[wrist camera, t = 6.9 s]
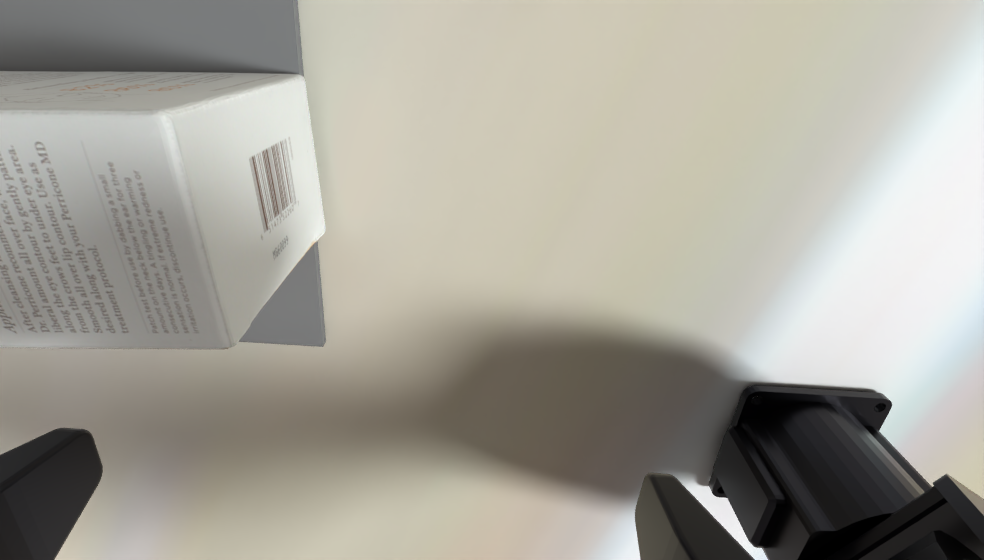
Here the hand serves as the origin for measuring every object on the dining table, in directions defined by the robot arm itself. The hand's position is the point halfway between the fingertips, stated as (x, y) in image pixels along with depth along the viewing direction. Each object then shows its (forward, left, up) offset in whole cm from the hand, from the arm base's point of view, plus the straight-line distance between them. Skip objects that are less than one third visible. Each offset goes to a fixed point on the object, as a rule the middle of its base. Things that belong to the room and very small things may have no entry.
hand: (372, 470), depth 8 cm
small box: (+4, -2, -8) cm, 9 cm away
